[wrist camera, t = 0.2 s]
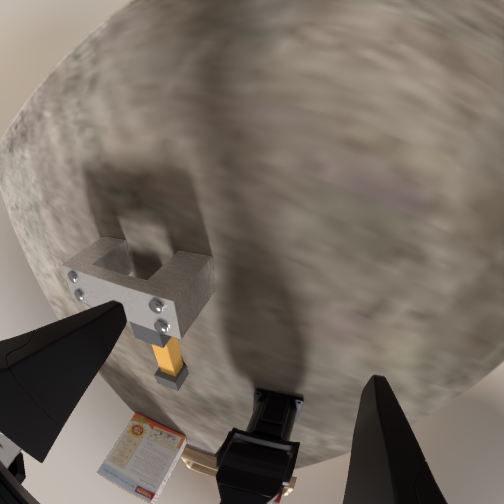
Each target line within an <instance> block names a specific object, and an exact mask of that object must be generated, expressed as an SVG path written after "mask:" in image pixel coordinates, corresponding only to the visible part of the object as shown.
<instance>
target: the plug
mask: <svg viewBox="0 0 504 504" xmlns="http://www.w3.org/2000/svg"><path fill="white" fill-rule="evenodd" d="M130 324H131V327H132V330H133V332H134V335H135V338H138V339H140V340H143V341H145V342H148V343H150V344H152V346H153V350H154V353H155V356H156V359H157V361H158V364H159V369H158V370H157V372H156V373H155V378H156V380H157V383H159V384H162V385H164V386H167V387H169V388H172V389H174V390H177V391H178V390H179V389H180V387H181V385H182V384H183V382H184V380H185V379H186V377H187V375H188V369H187V366H186V365H183V361H182V357H181V353H180V348H179V344H178V340H177V338H175V337H172V336H169V335H166V334H161V333H159V332H157V331H155V330H152V329H149V328H146V327H143V326H141V325H138V324H135V323H133V322H130Z"/></svg>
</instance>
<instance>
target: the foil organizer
mask: <svg viewBox="0 0 504 504" xmlns="http://www.w3.org/2000/svg"><path fill="white" fill-rule="evenodd" d="M181 458H182V459H183V461H184V462H185V464H186V465H187V467H188V468H189V469H192V470H194V471H197V472H200V473H202V474H205V475H208V476H211V477H214V478H216V474H217V471H218V469H217V468H216V463H217V459H216V457H213V456H210V455H207V454H204V453H201V452H199V451H196V450H193V449H191V448H188V447H185V449H184V451H183V453H182V455H181ZM296 478H297V477H291V480H290V482H289V485H288V486H285V487H284V490H283V493H282V495H284V496H287V495H288V494H289V493H290V492H291V491H292V490H293V489H294V486H295V482H296Z"/></svg>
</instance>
